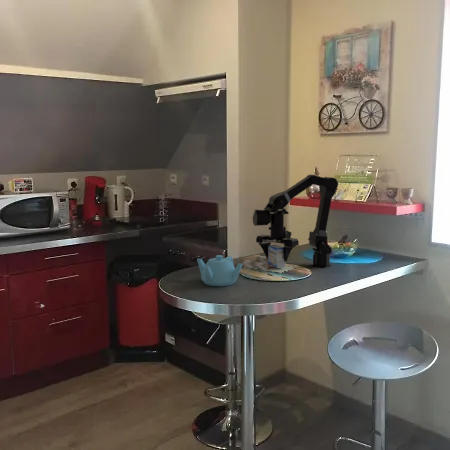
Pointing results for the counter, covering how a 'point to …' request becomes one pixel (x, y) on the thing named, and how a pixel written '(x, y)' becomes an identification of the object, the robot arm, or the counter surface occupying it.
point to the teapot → (219, 271)
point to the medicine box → (276, 256)
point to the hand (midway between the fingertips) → (276, 260)
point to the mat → (281, 269)
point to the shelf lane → (255, 262)
